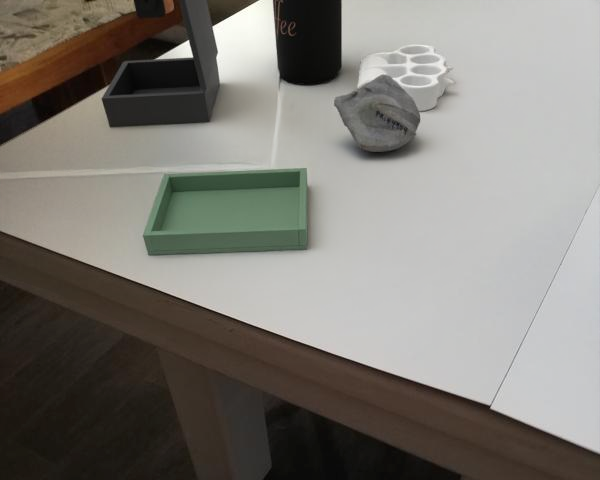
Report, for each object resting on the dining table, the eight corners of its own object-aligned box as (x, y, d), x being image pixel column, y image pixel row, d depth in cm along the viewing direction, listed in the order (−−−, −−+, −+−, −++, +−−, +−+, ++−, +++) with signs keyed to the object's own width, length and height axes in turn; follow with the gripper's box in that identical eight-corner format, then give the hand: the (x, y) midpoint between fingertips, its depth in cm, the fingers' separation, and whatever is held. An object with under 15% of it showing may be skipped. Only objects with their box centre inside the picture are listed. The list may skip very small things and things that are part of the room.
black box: (111, 133, 87) (101, 98, 83) (131, 93, 97) (123, 60, 93) (210, 128, 86) (204, 93, 82) (220, 89, 96) (216, 55, 92)
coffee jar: (275, 65, 102) (265, -65, 88) (336, 59, 102) (336, -72, 89) (281, 89, 95) (271, -49, 81) (346, 82, 95) (347, -56, 82)
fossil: (337, 163, 77) (337, 99, 71) (332, 133, 83) (331, 71, 77) (422, 156, 77) (429, 92, 71) (410, 127, 83) (415, 65, 77)
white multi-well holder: (361, 67, 99) (449, 66, 97) (355, 112, 87) (456, 111, 86) (361, 45, 97) (452, 43, 95) (356, 88, 85) (459, 87, 83)
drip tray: (148, 255, 65) (142, 235, 63) (168, 192, 74) (163, 173, 72) (306, 249, 64) (305, 229, 62) (307, 186, 73) (306, 167, 71)
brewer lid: (167, -46, 71) (210, -54, 70) (185, -72, 81) (223, -79, 80) (201, 90, 82) (238, 84, 82) (213, 53, 92) (246, 48, 91)
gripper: (89, -220, 60) (136, -8, 73) (42, -212, 49) (108, 36, 62) (162, -226, 60) (196, -12, 73) (131, -220, 48) (178, 31, 62)
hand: (155, 8), depth 68 cm, fingers closed on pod, 4 cm apart
